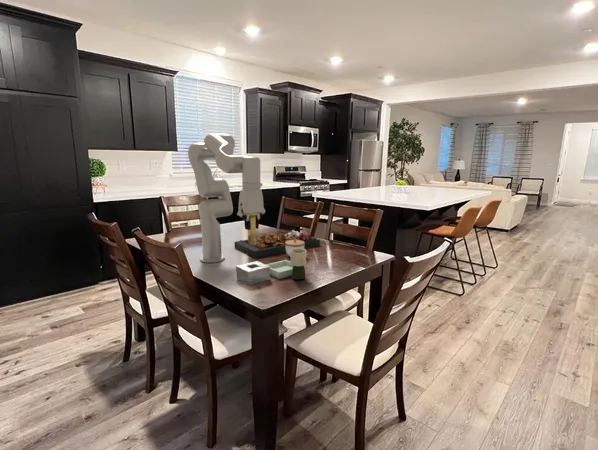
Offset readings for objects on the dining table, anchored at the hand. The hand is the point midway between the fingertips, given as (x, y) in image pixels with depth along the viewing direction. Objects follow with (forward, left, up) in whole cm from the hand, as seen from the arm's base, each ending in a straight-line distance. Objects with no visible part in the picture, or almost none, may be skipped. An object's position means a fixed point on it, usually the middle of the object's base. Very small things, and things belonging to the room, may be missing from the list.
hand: (251, 228), depth 149 cm
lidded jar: (-16, +37, -23) cm, 46 cm away
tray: (+1, +16, -23) cm, 28 cm away
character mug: (+12, +16, -23) cm, 31 cm away
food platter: (-37, +41, -24) cm, 60 cm away
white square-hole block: (0, 0, -23) cm, 23 cm away
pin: (0, 0, -7) cm, 7 cm away
